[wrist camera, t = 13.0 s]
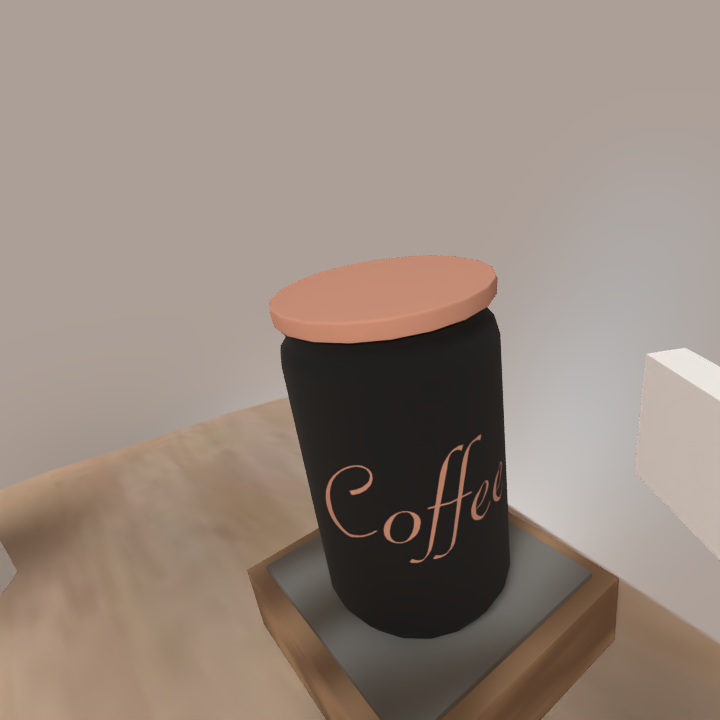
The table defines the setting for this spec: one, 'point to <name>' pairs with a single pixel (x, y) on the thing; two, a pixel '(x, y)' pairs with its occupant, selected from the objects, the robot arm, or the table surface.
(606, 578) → the walnut stand
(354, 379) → the coffee jar
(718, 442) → the robot arm
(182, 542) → the table surface
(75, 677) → the table surface
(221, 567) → the table surface
